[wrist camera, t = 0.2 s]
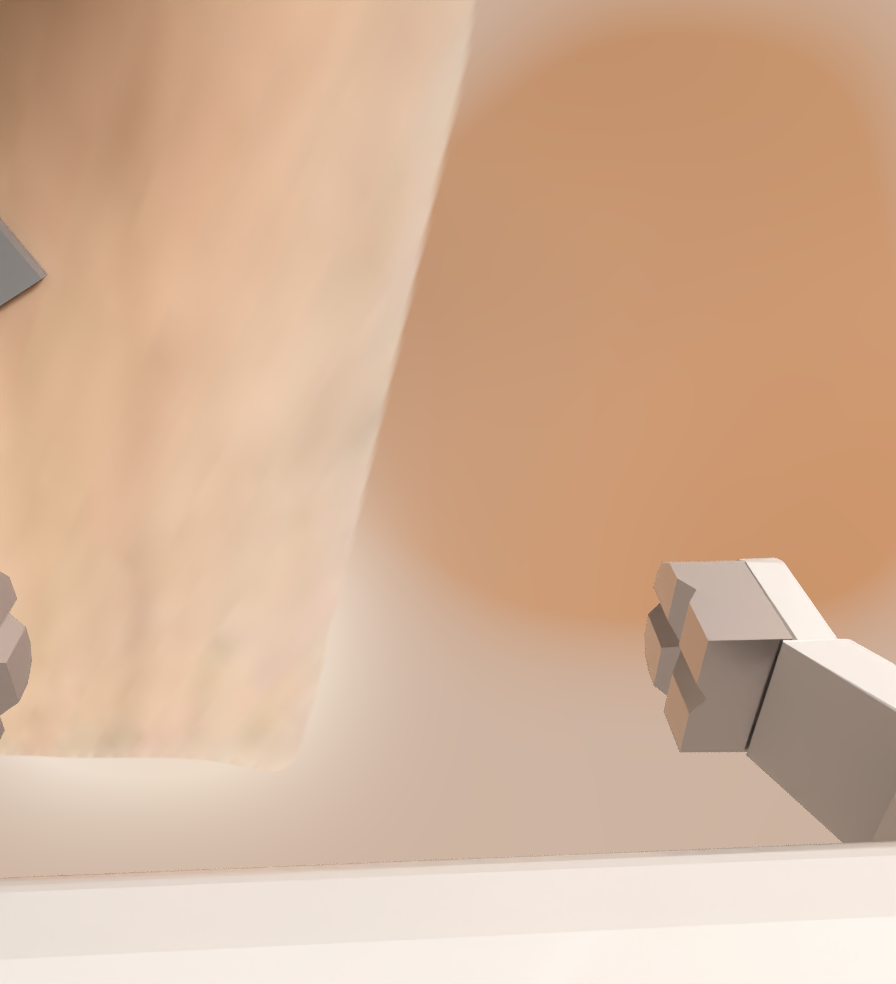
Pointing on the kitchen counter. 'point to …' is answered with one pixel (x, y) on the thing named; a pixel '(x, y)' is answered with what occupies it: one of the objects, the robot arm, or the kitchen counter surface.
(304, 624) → the kitchen counter surface
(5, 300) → the slate tile
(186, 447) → the kitchen counter surface
